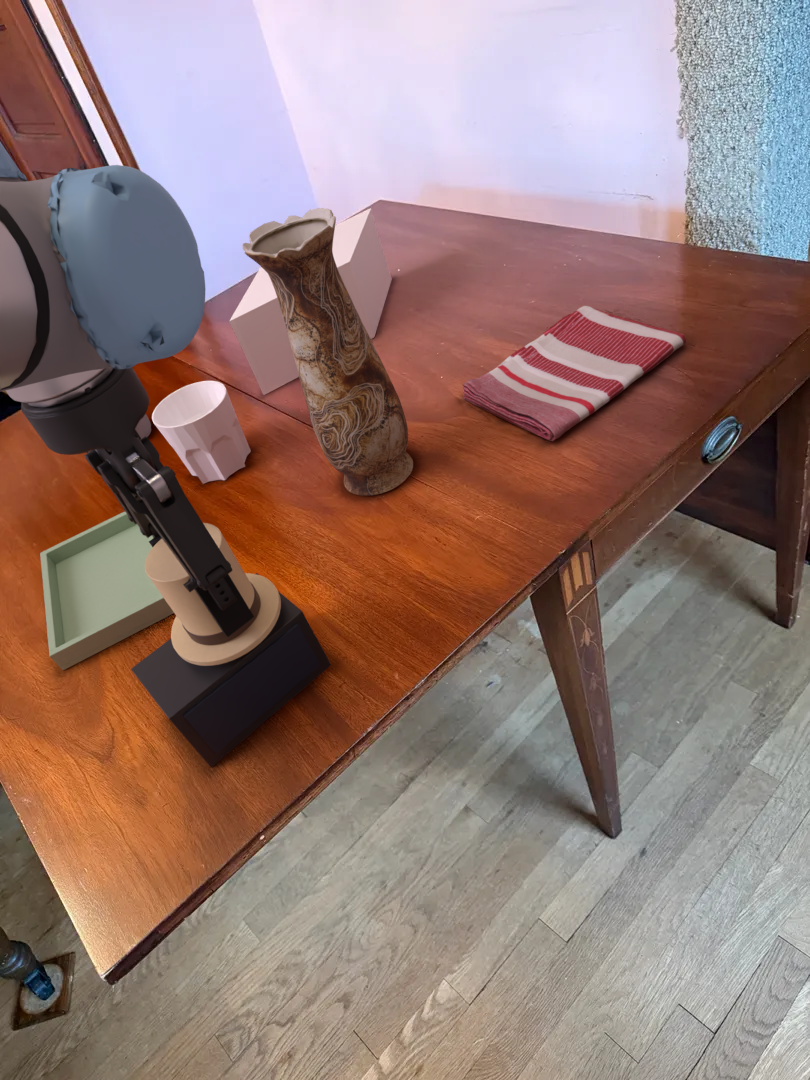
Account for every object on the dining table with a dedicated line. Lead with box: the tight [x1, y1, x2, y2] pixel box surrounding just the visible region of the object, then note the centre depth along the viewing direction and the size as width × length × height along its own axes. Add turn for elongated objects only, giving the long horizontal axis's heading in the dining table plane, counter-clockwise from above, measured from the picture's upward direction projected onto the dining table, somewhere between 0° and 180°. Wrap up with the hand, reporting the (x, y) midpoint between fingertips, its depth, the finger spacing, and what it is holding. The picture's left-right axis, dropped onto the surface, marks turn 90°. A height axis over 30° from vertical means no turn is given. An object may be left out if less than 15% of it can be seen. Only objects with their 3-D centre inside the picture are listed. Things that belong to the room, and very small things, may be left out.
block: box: [228, 207, 393, 396], centre depth 117 cm, size 18×35×12 cm, turn 145°
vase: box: [241, 207, 414, 496], centre depth 81 cm, size 10×11×30 cm
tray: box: [39, 511, 175, 671], centre depth 88 cm, size 20×15×3 cm
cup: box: [151, 380, 252, 485], centre depth 98 cm, size 10×10×10 cm
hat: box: [145, 522, 281, 666], centre depth 63 cm, size 10×10×9 cm
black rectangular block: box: [130, 572, 332, 768], centre depth 68 cm, size 14×8×8 cm, turn 130°
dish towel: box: [462, 305, 687, 442], centre depth 94 cm, size 17×23×3 cm
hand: (217, 604), depth 64 cm, fingers closed on hat, 7 cm apart
